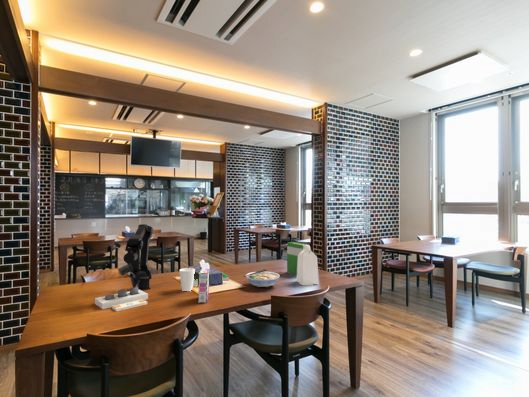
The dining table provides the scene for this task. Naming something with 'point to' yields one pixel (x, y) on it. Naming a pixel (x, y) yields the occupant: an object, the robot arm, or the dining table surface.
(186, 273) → the foam cup
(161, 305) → the dining table surface
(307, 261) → the milk
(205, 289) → the candy bar box
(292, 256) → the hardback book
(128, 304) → the pattern card
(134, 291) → the button
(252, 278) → the ramen bowl
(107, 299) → the button
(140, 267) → the robot arm
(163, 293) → the dining table surface
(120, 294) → the button middle
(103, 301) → the button board
